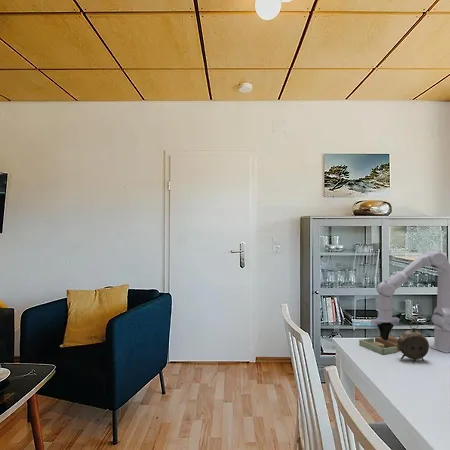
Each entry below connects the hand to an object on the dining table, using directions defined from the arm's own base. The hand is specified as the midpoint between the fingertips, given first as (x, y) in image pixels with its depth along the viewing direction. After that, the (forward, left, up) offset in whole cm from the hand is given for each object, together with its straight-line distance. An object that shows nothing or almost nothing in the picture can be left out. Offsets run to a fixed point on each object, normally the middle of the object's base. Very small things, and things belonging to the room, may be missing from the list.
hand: (384, 339), depth 168 cm
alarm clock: (+2, +17, -4) cm, 18 cm away
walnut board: (-5, 0, -4) cm, 6 cm away
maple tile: (+5, 0, -1) cm, 5 cm away
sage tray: (+4, 0, -4) cm, 6 cm away
